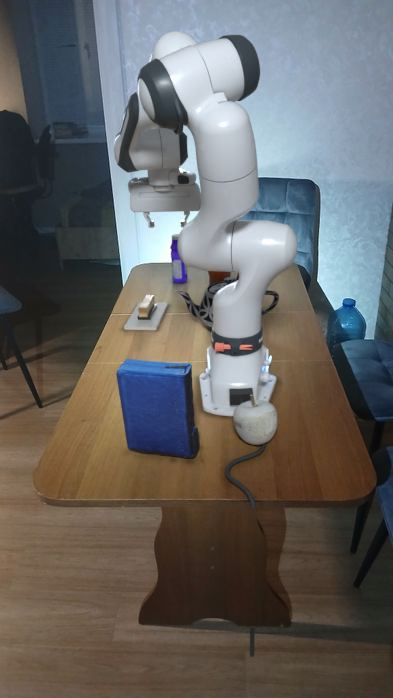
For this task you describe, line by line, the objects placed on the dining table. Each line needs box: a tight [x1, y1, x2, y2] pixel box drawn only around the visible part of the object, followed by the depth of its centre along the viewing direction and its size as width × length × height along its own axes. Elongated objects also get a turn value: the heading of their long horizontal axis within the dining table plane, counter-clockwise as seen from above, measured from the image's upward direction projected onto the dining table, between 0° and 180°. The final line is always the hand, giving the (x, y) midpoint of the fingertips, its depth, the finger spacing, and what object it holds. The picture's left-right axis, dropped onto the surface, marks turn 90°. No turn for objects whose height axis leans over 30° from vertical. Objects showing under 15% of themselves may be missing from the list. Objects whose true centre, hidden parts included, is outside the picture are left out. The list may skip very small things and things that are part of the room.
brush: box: [137, 294, 157, 320], centre depth 159 cm, size 11×4×4 cm, turn 172°
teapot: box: [173, 276, 280, 331], centre depth 148 cm, size 19×31×15 cm, turn 91°
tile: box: [123, 301, 169, 331], centre depth 160 cm, size 20×10×1 cm, turn 172°
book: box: [115, 358, 200, 459], centre depth 95 cm, size 14×5×20 cm, turn 76°
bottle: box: [169, 233, 188, 284], centre depth 186 cm, size 7×6×17 cm
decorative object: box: [232, 395, 279, 446], centre depth 100 cm, size 9×9×10 cm
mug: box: [207, 271, 239, 286], centre depth 173 cm, size 12×9×10 cm
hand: (167, 227), depth 144 cm, fingers open, 8 cm apart
